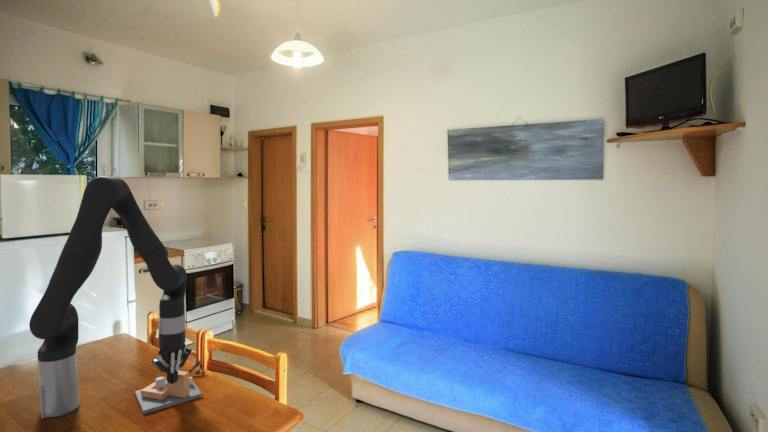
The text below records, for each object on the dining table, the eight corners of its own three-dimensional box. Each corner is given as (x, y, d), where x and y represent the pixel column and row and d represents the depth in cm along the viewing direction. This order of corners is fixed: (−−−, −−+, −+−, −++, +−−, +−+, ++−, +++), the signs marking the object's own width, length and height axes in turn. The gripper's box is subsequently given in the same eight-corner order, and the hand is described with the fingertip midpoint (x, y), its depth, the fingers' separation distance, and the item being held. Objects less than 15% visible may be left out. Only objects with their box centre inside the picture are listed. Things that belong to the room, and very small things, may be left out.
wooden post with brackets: (206, 368, 158) (202, 359, 156) (189, 384, 152) (183, 375, 150) (204, 367, 159) (199, 358, 157) (186, 383, 153) (180, 373, 151)
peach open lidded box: (141, 396, 136) (140, 374, 135) (159, 384, 143) (158, 363, 143) (178, 402, 132) (177, 379, 132) (195, 389, 140) (194, 368, 139)
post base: (143, 414, 128) (142, 395, 127) (134, 394, 140) (134, 377, 139) (202, 396, 139) (201, 379, 138) (189, 379, 150) (189, 363, 150)
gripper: (160, 338, 124) (160, 394, 126) (198, 325, 136) (198, 377, 137) (144, 333, 128) (145, 388, 129) (182, 321, 140) (182, 372, 141)
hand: (172, 382), depth 133 cm, fingers closed
